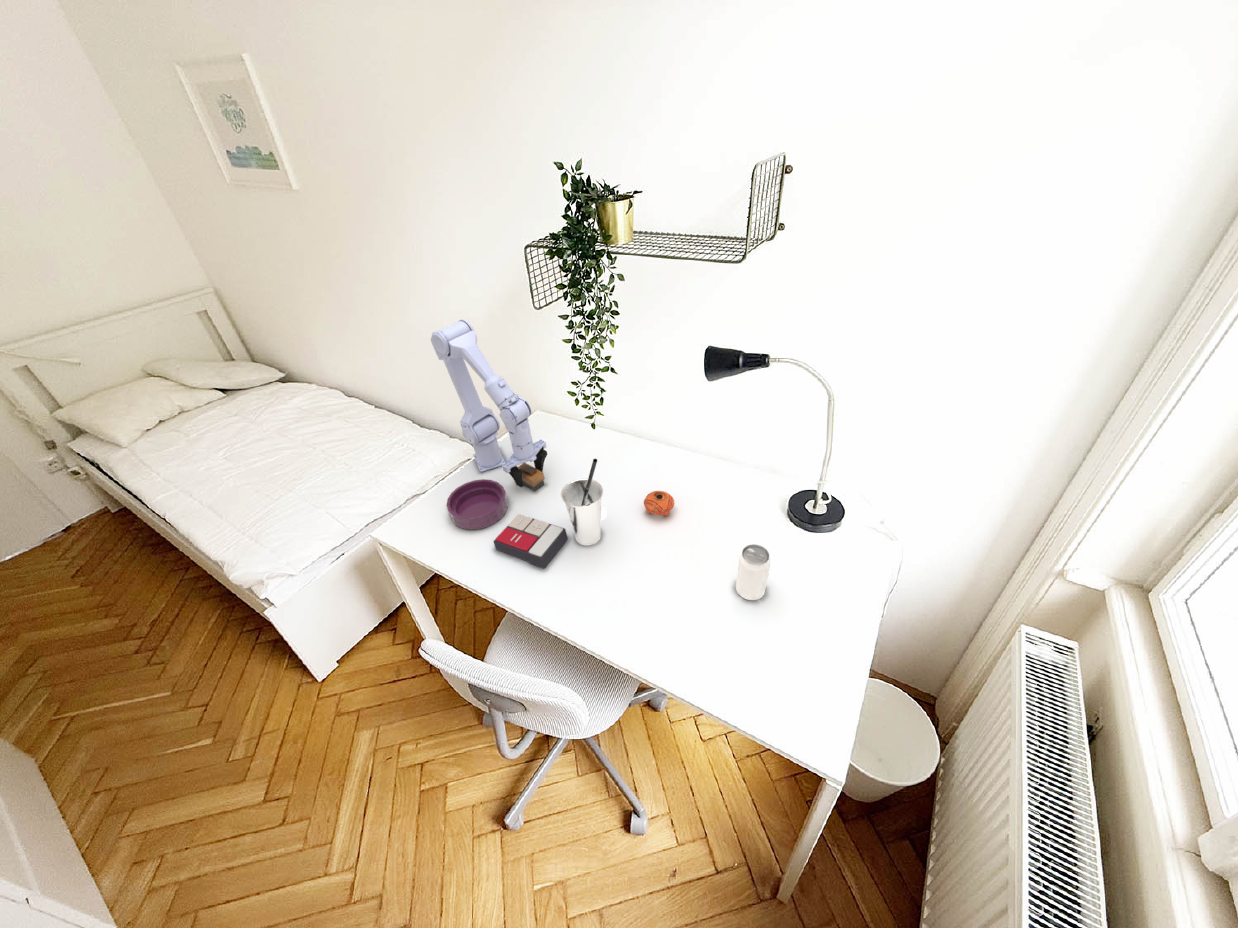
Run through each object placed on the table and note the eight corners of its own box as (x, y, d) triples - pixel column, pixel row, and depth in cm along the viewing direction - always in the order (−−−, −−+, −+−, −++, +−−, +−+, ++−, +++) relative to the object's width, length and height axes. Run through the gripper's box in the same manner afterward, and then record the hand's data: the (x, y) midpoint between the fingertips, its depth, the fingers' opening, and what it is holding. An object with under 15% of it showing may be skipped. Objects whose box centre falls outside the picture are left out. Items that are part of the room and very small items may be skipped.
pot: (645, 498, 144) (650, 480, 140) (672, 507, 144) (678, 489, 139) (638, 518, 138) (643, 499, 134) (666, 527, 137) (673, 509, 133)
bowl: (446, 502, 148) (441, 490, 145) (499, 484, 153) (496, 472, 150) (457, 538, 137) (452, 526, 134) (515, 518, 142) (511, 506, 139)
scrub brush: (515, 482, 153) (512, 467, 150) (527, 474, 156) (523, 459, 152) (534, 492, 149) (531, 477, 146) (545, 484, 152) (542, 469, 148)
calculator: (518, 511, 138) (565, 526, 132) (521, 523, 141) (568, 538, 134) (491, 539, 131) (540, 556, 125) (496, 551, 134) (544, 569, 127)
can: (744, 573, 123) (749, 538, 115) (769, 587, 119) (776, 551, 112) (730, 592, 119) (734, 556, 111) (756, 606, 116) (762, 570, 108)
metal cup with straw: (607, 556, 129) (596, 461, 111) (563, 551, 131) (545, 457, 113) (615, 524, 138) (607, 431, 119) (574, 520, 140) (559, 428, 121)
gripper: (510, 459, 137) (520, 497, 145) (550, 432, 145) (557, 470, 153) (493, 449, 140) (503, 487, 149) (533, 424, 149) (540, 461, 157)
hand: (529, 478), depth 151 cm, fingers open, 7 cm apart
